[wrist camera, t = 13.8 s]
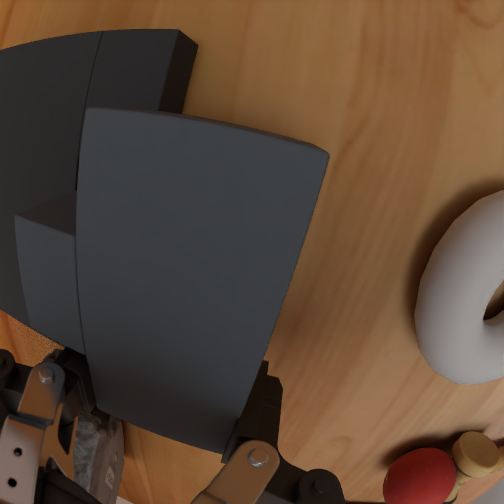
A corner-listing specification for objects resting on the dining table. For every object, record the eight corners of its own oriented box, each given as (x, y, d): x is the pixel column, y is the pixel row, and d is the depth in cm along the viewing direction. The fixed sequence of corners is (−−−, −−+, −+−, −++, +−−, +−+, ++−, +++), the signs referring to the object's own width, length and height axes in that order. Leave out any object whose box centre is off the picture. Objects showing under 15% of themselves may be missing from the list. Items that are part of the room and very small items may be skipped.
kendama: (533, 404, 16) (416, 434, 15) (549, 452, 11) (431, 516, 9) (486, 441, 21) (361, 468, 19) (497, 485, 15) (366, 532, 14)
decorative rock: (62, 323, 17) (-71, 483, 3) (149, 367, 17) (39, 579, 3) (83, 434, 23) (24, 537, 9) (140, 462, 23) (91, 576, 9)
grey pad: (101, 105, 9) (18, 105, 5) (315, 144, 9) (331, 153, 5) (92, 328, 13) (46, 381, 9) (242, 380, 13) (224, 455, 9)
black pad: (16, 54, 10) (-10, 53, 8) (199, 44, 10) (179, 28, 8) (12, 290, 17) (-7, 304, 15) (151, 355, 16) (135, 380, 14)
